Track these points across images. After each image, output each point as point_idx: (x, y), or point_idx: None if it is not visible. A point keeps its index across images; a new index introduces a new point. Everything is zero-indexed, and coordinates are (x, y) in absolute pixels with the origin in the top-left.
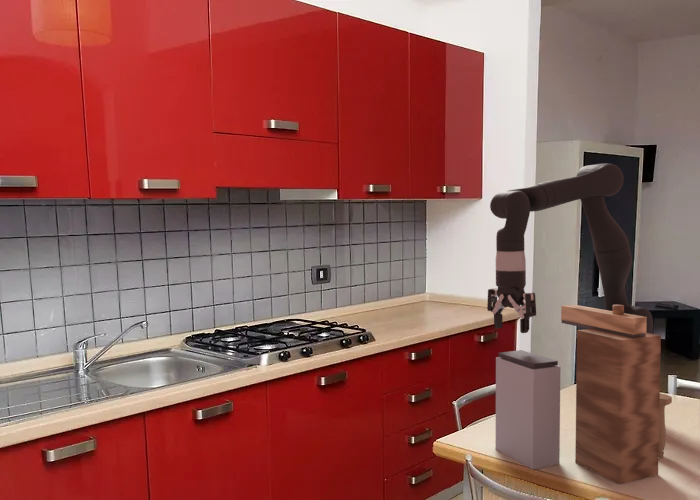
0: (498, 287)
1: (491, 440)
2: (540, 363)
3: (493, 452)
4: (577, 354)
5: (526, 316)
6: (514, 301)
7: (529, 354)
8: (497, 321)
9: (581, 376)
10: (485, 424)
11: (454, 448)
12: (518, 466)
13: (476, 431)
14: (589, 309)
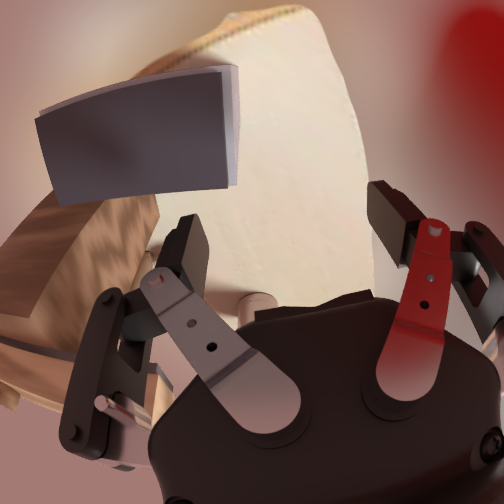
0: (495, 434)
1: (275, 83)
2: (40, 144)
3: (224, 55)
4: (56, 264)
5: (140, 293)
6: (197, 369)
7: (149, 173)
8: (385, 204)
9: (71, 230)
10: (345, 124)
11: (269, 8)
12: (159, 64)
13: (325, 88)
14: (62, 407)
